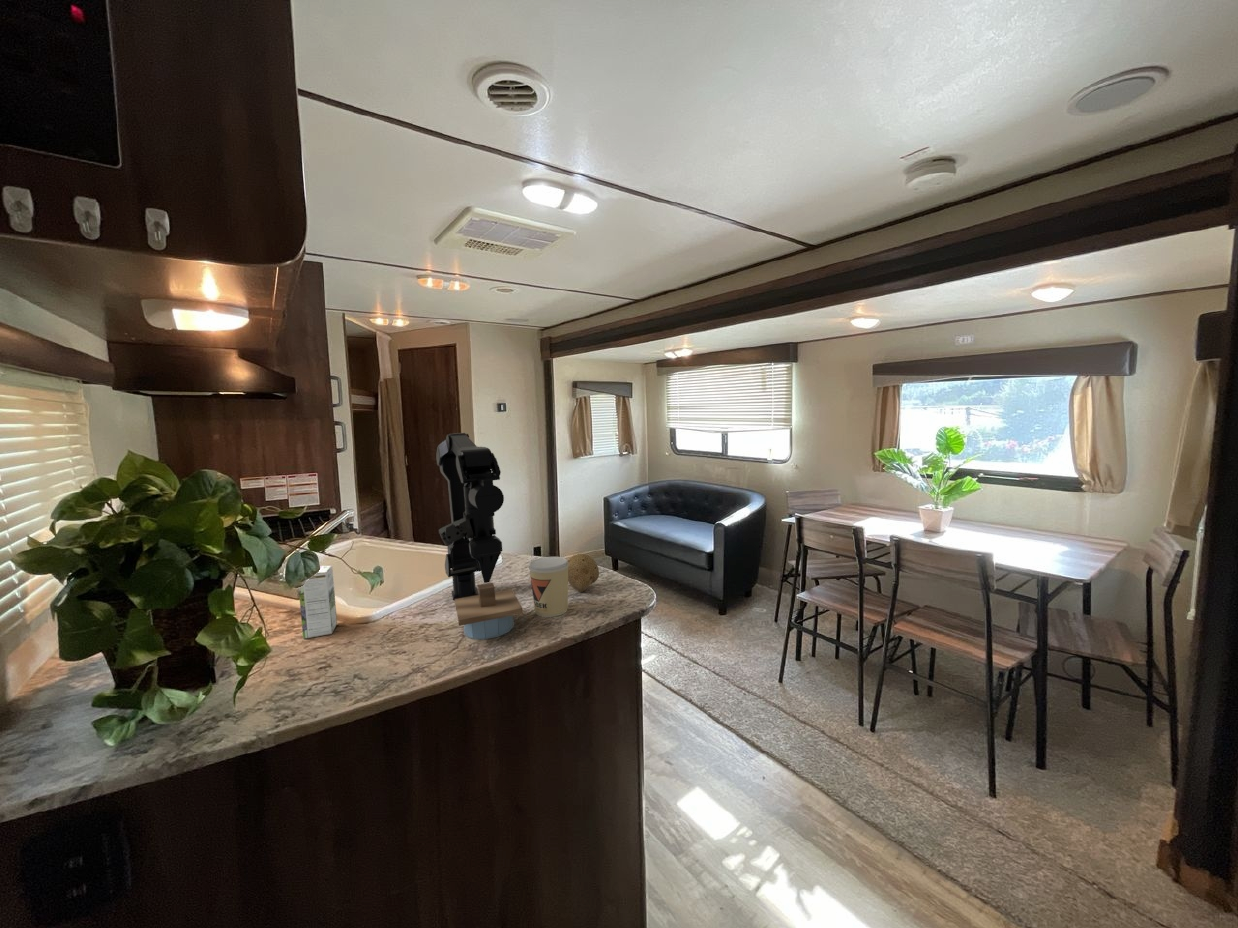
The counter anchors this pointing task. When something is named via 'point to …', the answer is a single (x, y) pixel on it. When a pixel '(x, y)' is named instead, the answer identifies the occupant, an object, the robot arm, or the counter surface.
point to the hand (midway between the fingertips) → (484, 576)
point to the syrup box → (318, 604)
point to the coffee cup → (549, 585)
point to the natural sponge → (582, 571)
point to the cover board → (487, 605)
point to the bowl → (489, 628)
